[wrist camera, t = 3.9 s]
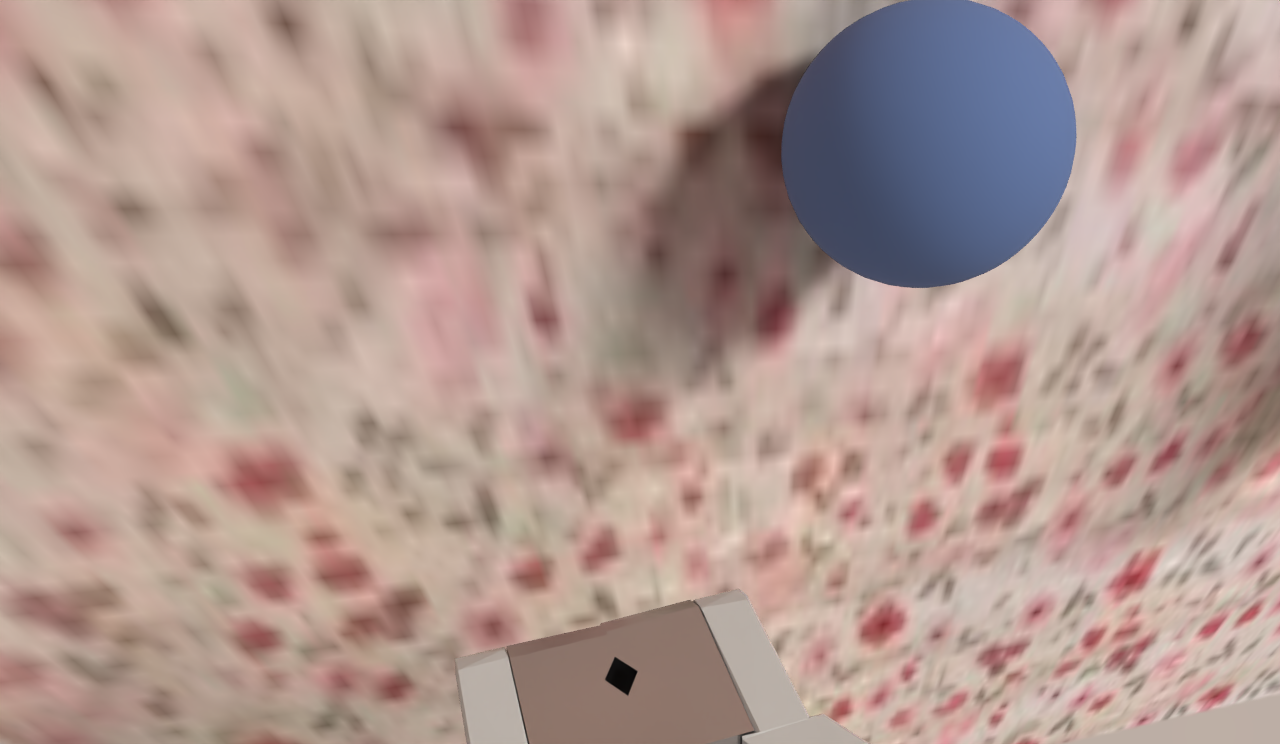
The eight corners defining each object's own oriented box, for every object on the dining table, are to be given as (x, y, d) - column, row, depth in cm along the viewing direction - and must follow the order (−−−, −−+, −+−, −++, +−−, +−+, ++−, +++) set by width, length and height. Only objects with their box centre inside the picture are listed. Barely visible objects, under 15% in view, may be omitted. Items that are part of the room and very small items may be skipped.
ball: (733, 231, 22) (845, 364, 18) (745, -20, 19) (885, 69, 15) (945, 195, 24) (1097, 312, 19) (990, -45, 20) (1186, 29, 16)
